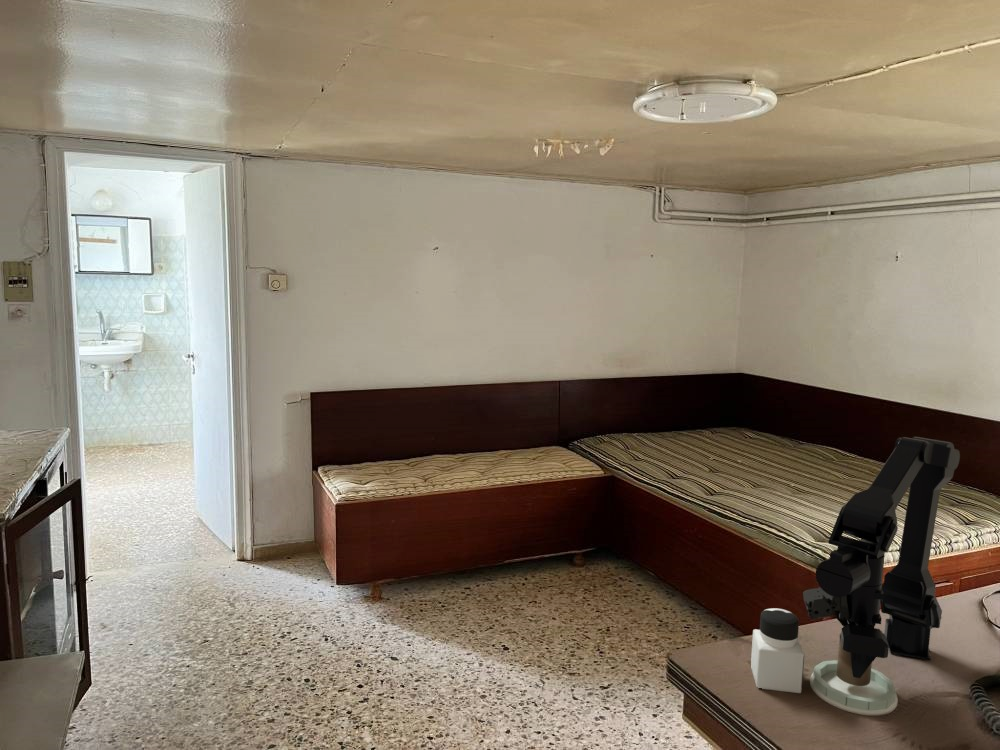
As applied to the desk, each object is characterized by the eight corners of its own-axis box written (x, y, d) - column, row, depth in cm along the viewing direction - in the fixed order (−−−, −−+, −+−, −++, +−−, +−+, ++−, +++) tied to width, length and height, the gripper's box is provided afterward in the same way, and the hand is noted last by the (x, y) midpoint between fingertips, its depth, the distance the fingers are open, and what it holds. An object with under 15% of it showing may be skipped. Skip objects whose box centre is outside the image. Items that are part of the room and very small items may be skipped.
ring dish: (890, 679, 121) (891, 667, 121) (903, 723, 109) (905, 710, 109) (808, 664, 126) (808, 653, 126) (812, 704, 114) (813, 692, 114)
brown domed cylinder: (868, 672, 119) (871, 633, 118) (872, 688, 114) (875, 647, 113) (835, 666, 120) (838, 627, 120) (837, 682, 116) (841, 642, 115)
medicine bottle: (802, 694, 117) (807, 625, 115) (756, 689, 118) (760, 621, 116) (793, 671, 124) (798, 606, 122) (750, 666, 125) (754, 602, 123)
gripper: (805, 551, 126) (799, 633, 129) (811, 594, 109) (804, 688, 111) (875, 560, 122) (868, 645, 125) (893, 607, 105) (884, 704, 107)
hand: (854, 668), depth 117 cm, fingers closed on brown domed cylinder, 5 cm apart
